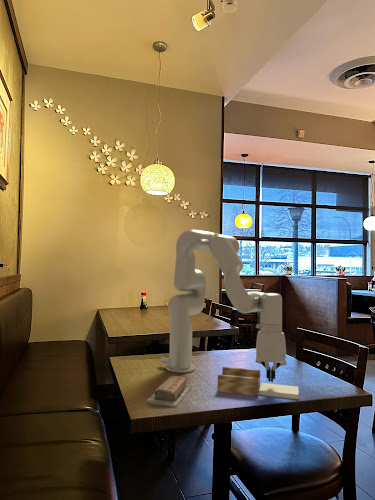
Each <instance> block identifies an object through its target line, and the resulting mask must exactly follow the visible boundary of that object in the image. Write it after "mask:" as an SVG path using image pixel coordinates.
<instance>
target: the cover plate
mask: <svg viewBox="0 0 375 500" xmlns="http://www.w3.org/2000/svg"><path fill="white" fill-rule="evenodd" d="M258 396H267V397H268V396H269V397H275V398H283V399H284V398H285V399H293V400H294V399H295V400H299V397H300V395H299V386H297V385H296V386H295V385H284V384H275V383H266V382H260V389H259V395H258Z"/></svg>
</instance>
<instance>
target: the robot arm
mask: <svg viewBox="0 0 375 500" xmlns="http://www.w3.org/2000/svg"><path fill="white" fill-rule="evenodd" d="M175 245H176V246H175V266H174V276H173V286H174V288H175V290H177V291H179V292H186V293H181V294H180V293H179V294H175V295H173V296H172V297H170V299H169V300H168V303H167V309H168V316H169V356H167V357H163V356H161V357H160V362H161V363H162V364H166V365H165V370H167V372H171V373H176V374H177V373H179V374H180V373H181V374H182V373H183V374H184V373H185V374H186V373H191V372H193V371H195V370H196V364H193V363H192V361H193V360H192V359H193V350H192V349H193V326H192V325H193V324H192V322H191V318H190V316H194V315H198V314H201V312H202V311H203V309H204V307H205V301H206V288H207V277H206V276H205V274H204V272H203V271H201V270H199V269H196V255H195V253H194V251H201V252H210V253H211V254H212V256H213V258H214V260H215V262H216V263H217V265H218V267H219V268H220V271H221V272H222V274H223V284H224V290H225V294H226V296H227V298H228V299H229V301H230V303H231V304H232V306H233V308H234V309H235V310H236V311H238V313H241V314H250V313H257V312H260V314H259V315H260V317H259V318H260V319H259V320H260V321H259V322H260V323H258V324H257V323H256V324H255V325H256V326H255V328H256V329H259V331H257V335H256V344H255V345H256V346H255V348H256V349H255V363H257V364H260V365H262V366H263V367H264V368H265V370H266V373H265V375H266V379H267V380H268V382H269V383H270V382H272V383H273V382H274V380H276V370H277V369H278V368H279V367H282V366H286V365H287V359H286V358H287V347H286V336H285V333H284V332H283V297H282V295H281V294H280V293H276V292H261V291H256V290H255V291H248V290H246V288H245V287H244V284H243V282H242V280H241V277H240V274H241V272H242V270H243V268H244V263H243V262H242V260H241V258H240V256H239V255H238V253H239V251H240V243H239V241H238V240H237V238H236V237H234V236H232V235H226V234H222V233H217V232H212V231H206V230H200V229H188V230H184V231H183V232H181V233H180V234H179V236H178V238H177V239H176V244H175ZM270 363H272V366H270Z"/></svg>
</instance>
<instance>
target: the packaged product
mask: <svg viewBox="0 0 375 500" xmlns="http://www.w3.org/2000/svg"><path fill="white" fill-rule="evenodd" d="M186 384H187V378H186V377H185V376H182V375H181V376H180V375H170V376H169V377H167V378H166V379H165V381H163V382H162V383H161V384H160V385H159V386H158V387H157V388H156V389H155V390H154V392H153V394H151V395H150V397H148V398H147V399H146V400H147V401H146V402H147V404H149V405H150V404H151V405H156V406H157V405H158V406H165V407H171V408H177V407H178V406H179V404H180V403H181V402H182V400H183V399H184V398H185V397H186V396H187V394H188V393H189V391H191V389H192V386H191V385H186Z"/></svg>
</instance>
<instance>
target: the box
mask: <svg viewBox="0 0 375 500" xmlns="http://www.w3.org/2000/svg"><path fill="white" fill-rule="evenodd" d="M260 385H261V370H260V369H253V368H244V367H243V368H241V367H231V366H230V367H229V366H222V374H217V392H218V393H228V394H235V395H236V394H237V395H244V396H254V397H255V396H256V397H259V396H260V395H259V389H260Z"/></svg>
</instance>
